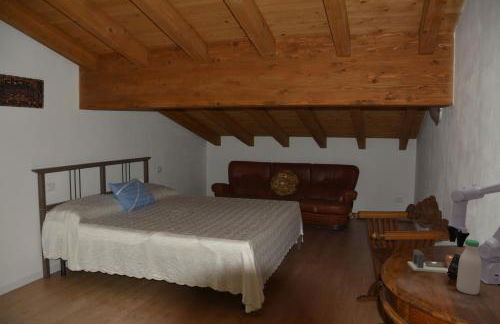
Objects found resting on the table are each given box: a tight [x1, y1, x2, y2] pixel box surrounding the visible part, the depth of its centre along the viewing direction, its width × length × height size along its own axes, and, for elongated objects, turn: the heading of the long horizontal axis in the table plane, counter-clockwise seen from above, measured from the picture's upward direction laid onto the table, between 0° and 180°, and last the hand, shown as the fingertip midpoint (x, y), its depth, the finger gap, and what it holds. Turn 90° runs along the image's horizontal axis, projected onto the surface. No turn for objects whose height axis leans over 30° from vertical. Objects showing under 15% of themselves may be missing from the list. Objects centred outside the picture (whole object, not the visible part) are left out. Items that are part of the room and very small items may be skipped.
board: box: [407, 261, 448, 274], centre depth 172 cm, size 9×18×1 cm, turn 85°
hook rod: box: [424, 254, 455, 268], centre depth 171 cm, size 12×4×5 cm, turn 85°
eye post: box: [412, 249, 425, 268], centre depth 172 cm, size 7×2×6 cm, turn 175°
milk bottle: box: [456, 238, 481, 296], centre depth 148 cm, size 8×8×20 cm
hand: (456, 244), depth 175 cm, fingers open, 7 cm apart
